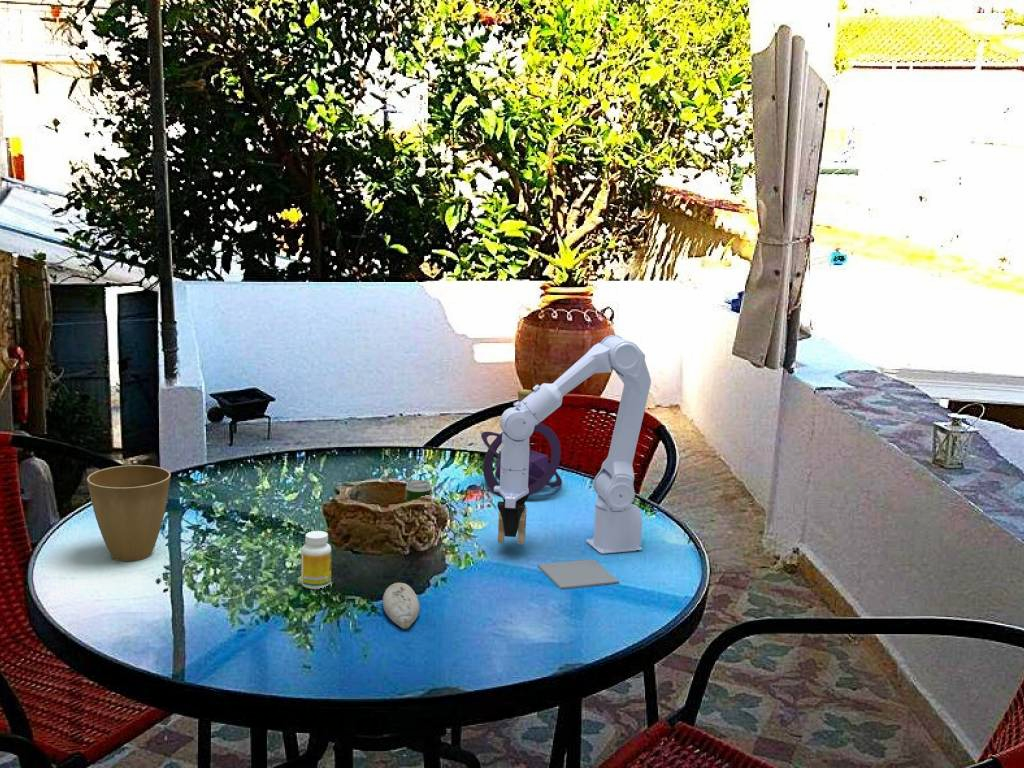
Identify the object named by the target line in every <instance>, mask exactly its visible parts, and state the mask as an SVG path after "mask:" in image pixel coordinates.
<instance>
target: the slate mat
mask: <svg viewBox="0 0 1024 768" xmlns="http://www.w3.org/2000/svg"><path fill="white" fill-rule="evenodd" d="M537 567H538V568H539V569H540V570H541V571H542V572H543V573H544V574H545V575H546V576H547V577H548V579H550V580H551V581H552V582H553V583H554V584H555V586H557V587H558V588H559V589H560V590H565V589H577V588H586V587H597V586H607V585H606V584H608V585H615V584H614V583H618V584H620V580H618V579H617V578H616V577H615V576H614V575H613V574H612V573H611V572H609V571H608V570H607V569H606V568H604V567H603V566H602V565H601V564H600V563H598V561H596V560H595V559H584V560H583V559H582V560H571V561H562V562H550V563H537Z"/></svg>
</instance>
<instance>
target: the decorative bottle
mask: <svg viewBox="0 0 1024 768" xmlns="http://www.w3.org/2000/svg"><path fill="white" fill-rule="evenodd" d="M532 392H533V389H532V390H530V389H517V400H518V401H519V402H521V401H522V400H523V399H525V398H526V397H527V396H528V395H529V394H531V393H532ZM516 402H517V401H515V402H513V407H516V406H515V403H516ZM502 432H504V431H503V430H502ZM502 432H501V433H498V432H493V431H483V432H481V433H480V434H481V435H480V437H481V439H482V442H483V443H484V444H485V446H486V447H487V451H486V453H485V455H484V460H483V465H482V467H483V468H482V471H483V472H482V473H483V477H484V480H485V484H486V485H487V486H488V488H489V489H490V491H491V492H493V493H494V494H496V495H497V496H499V497H501V498H502V496H501V494H500V493H499V492H495V491H494V487H495V486H500V482H499V481H500V468H501V450H499V451H498V448H499V447H500V446H501V445H502ZM533 432H535V433H539V434H540V435H542V436H543V437H544V438H545V439H546V440H547V441H548V444H549V447H550V453H551V456H550V462H549V455H547V454H545V453H544V454H543V453H542V452H541V449H540V452H538V451H535V450H531V449H529V473H528V488H529V496H528V497H530V496H532V495H534V494H536V493H538V492H540V491H541V490H542V489H543V488H544V487H545V486H550V487H554V488H555V487H561V486H562V485H563V480H562V478H561V476H560V474H559V473H558V472H557V470H558V468H559V465H560V463H561V456H562V450H561V448H562V447H561V442H560V440H559V437H558V435H557V434H556V432H555V431H553V429H552V428H550V427H549V426H548V425H546V424H544V423H541V422H540V423H539V424H538V425H535V427H534V431H533ZM490 436H494V437H495V439H494V440H493V441H492V442H491V444H490V442H489V441H488V437H490ZM495 456H496V457H497V463H496V468H495V472H494V470H493V462H494V458H495ZM554 476H555V479H556V480H555V481H554V482H550V481H551V480H552V479H553V477H554ZM497 479H498V480H499V481H498V480H497Z"/></svg>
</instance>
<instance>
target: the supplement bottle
mask: <svg viewBox="0 0 1024 768" xmlns="http://www.w3.org/2000/svg"><path fill="white" fill-rule="evenodd" d="M304 537H305V540H304V541H305V544H304V545H303V546H302V548H301V559H300V561H301V573H300V574H301V575H300V579H301V582H300V583H301V586H302V587H304V588H306V589H309V590H321V589H320V588H322V589H325V588H327V587H326V586H328V585H329V584H330V583H331V584H332V546H331V545H330V544H329V543H328V541H329V533H328V532H326V531H322V530H313V531H309V532H307V533H305V536H304ZM331 584H330V585H331ZM330 585H329V586H330ZM329 586H328V587H329ZM324 587H325V588H324Z"/></svg>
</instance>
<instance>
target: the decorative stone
mask: <svg viewBox="0 0 1024 768" xmlns="http://www.w3.org/2000/svg"><path fill="white" fill-rule="evenodd" d="M384 591H385V592H384V594H383V597H382V607H383V610H384V612H385V614H386V615H387V617H388V618H389V620H391V621H392V622H393V623H394V624H395V625H397V626H398V627H400V628H402V629H403V630H405V629H408V628H410V627H411V625H412V624H413V623H414V622H415V621H416V620H417V618H418V615H419V612H420V602H419V599H418V596H417V594H416V593H415V591H414V590H413V588H412V587H411V586H410V585H408V584H407V583H404V582H394V583H393V584H391V585H389V586H388V587H387V588H386V589H385V590H384Z"/></svg>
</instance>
